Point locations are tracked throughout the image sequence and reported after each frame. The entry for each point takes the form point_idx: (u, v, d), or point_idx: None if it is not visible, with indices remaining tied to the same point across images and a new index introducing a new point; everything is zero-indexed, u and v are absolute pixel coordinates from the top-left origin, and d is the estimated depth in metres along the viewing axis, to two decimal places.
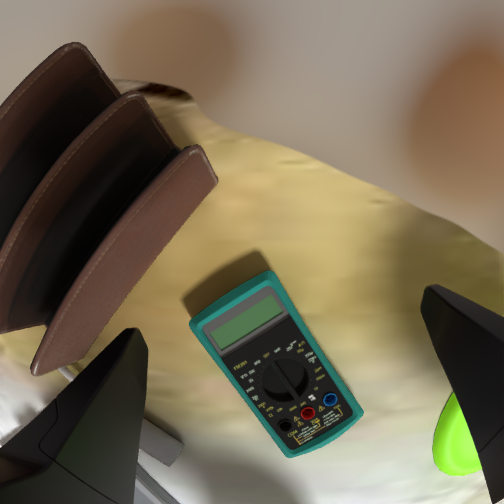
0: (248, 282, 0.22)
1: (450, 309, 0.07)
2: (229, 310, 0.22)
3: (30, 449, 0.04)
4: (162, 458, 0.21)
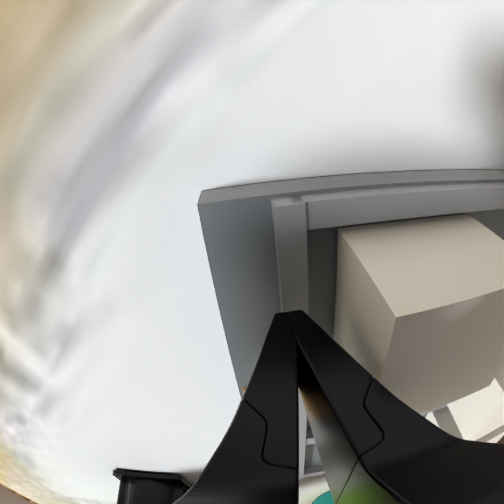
0: None
1: (296, 342, 0.07)
2: None
3: (252, 470, 0.04)
4: None
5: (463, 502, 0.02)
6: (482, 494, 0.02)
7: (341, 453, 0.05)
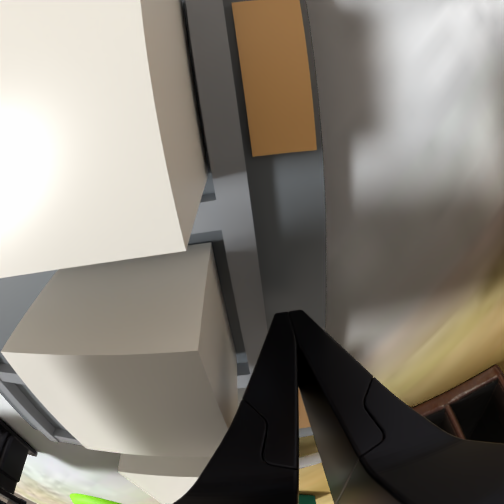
0: None
1: (296, 342, 0.07)
2: None
3: (253, 469, 0.04)
4: None
5: (463, 502, 0.02)
6: (482, 494, 0.02)
7: (341, 453, 0.05)
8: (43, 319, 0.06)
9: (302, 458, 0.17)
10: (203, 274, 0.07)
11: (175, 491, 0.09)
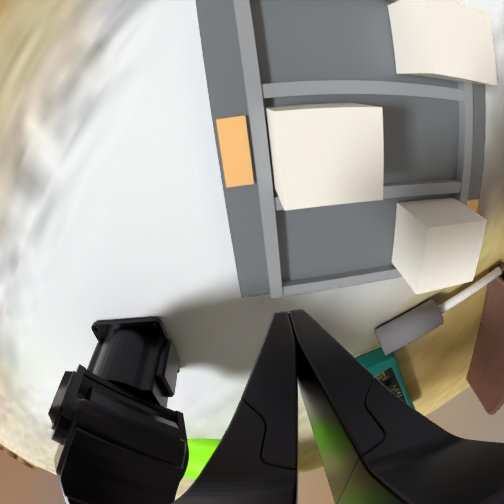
0: None
1: (296, 342, 0.07)
2: None
3: (251, 470, 0.04)
4: None
5: (465, 501, 0.02)
6: (483, 493, 0.02)
7: (343, 452, 0.05)
8: (290, 108, 0.13)
9: (451, 299, 0.24)
10: (361, 104, 0.14)
11: (443, 256, 0.16)
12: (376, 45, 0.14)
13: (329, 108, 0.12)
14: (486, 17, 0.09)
